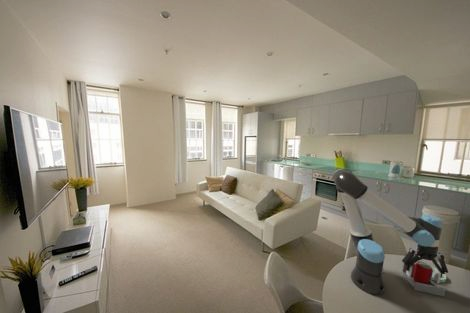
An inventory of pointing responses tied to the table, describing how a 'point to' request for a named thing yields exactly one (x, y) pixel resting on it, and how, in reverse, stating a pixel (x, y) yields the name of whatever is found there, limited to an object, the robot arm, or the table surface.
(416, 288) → the bay
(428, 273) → the beverage can
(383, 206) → the robot arm
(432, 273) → the tray
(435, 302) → the table surface
